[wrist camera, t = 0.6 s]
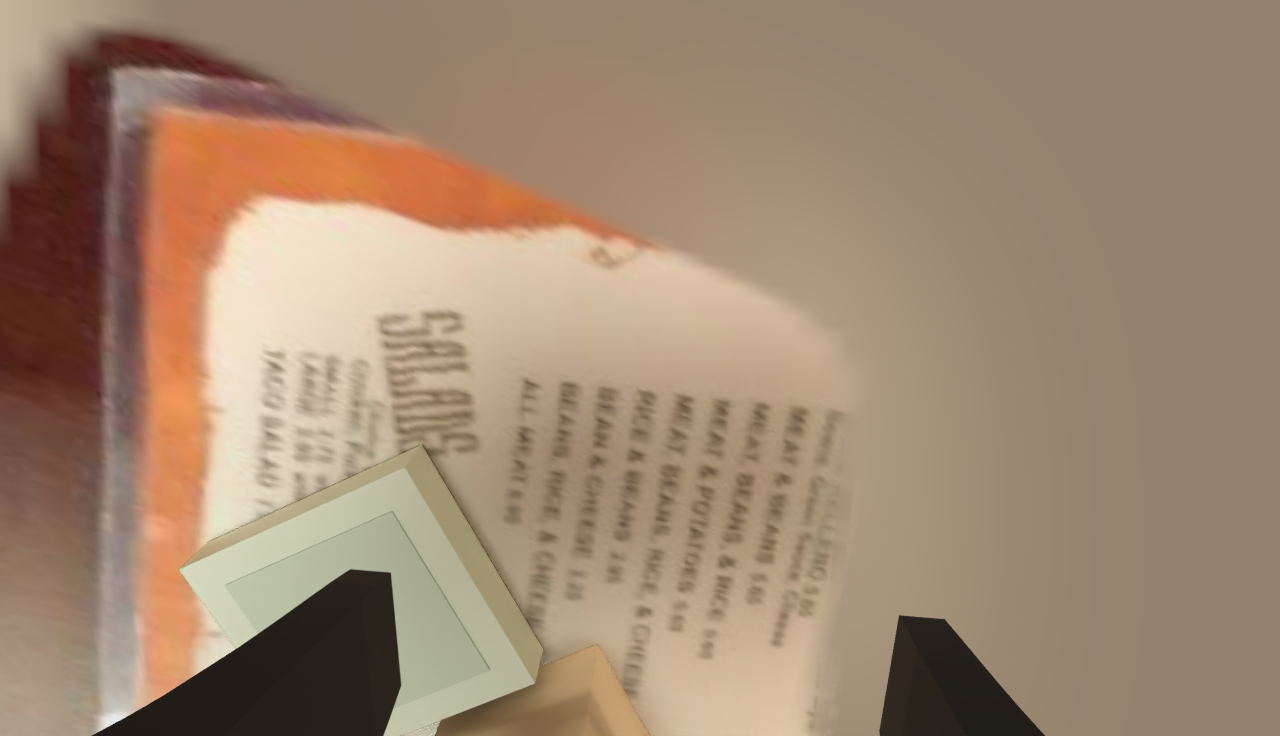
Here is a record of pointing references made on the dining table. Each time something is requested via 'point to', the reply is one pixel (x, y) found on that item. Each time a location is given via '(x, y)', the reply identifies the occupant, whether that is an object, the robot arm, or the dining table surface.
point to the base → (421, 581)
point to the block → (556, 704)
